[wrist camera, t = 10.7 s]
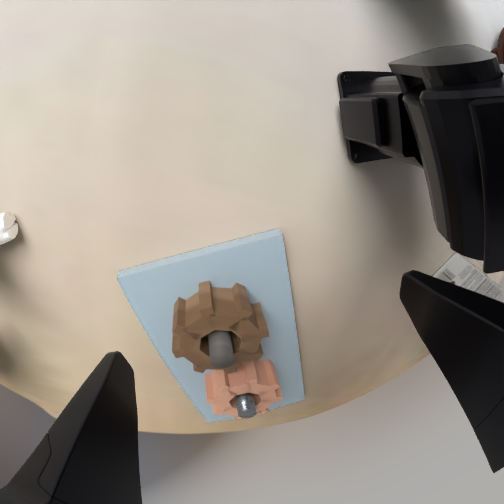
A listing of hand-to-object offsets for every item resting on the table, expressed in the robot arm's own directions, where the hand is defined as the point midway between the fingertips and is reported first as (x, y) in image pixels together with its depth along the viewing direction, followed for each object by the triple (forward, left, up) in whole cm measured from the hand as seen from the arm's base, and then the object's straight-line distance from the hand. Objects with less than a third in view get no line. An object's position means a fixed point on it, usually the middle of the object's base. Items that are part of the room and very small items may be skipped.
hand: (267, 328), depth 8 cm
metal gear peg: (+3, +16, -11) cm, 20 cm away
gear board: (+3, +14, -12) cm, 19 cm away
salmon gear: (+3, +17, -11) cm, 20 cm away
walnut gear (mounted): (+3, +8, -11) cm, 14 cm away
